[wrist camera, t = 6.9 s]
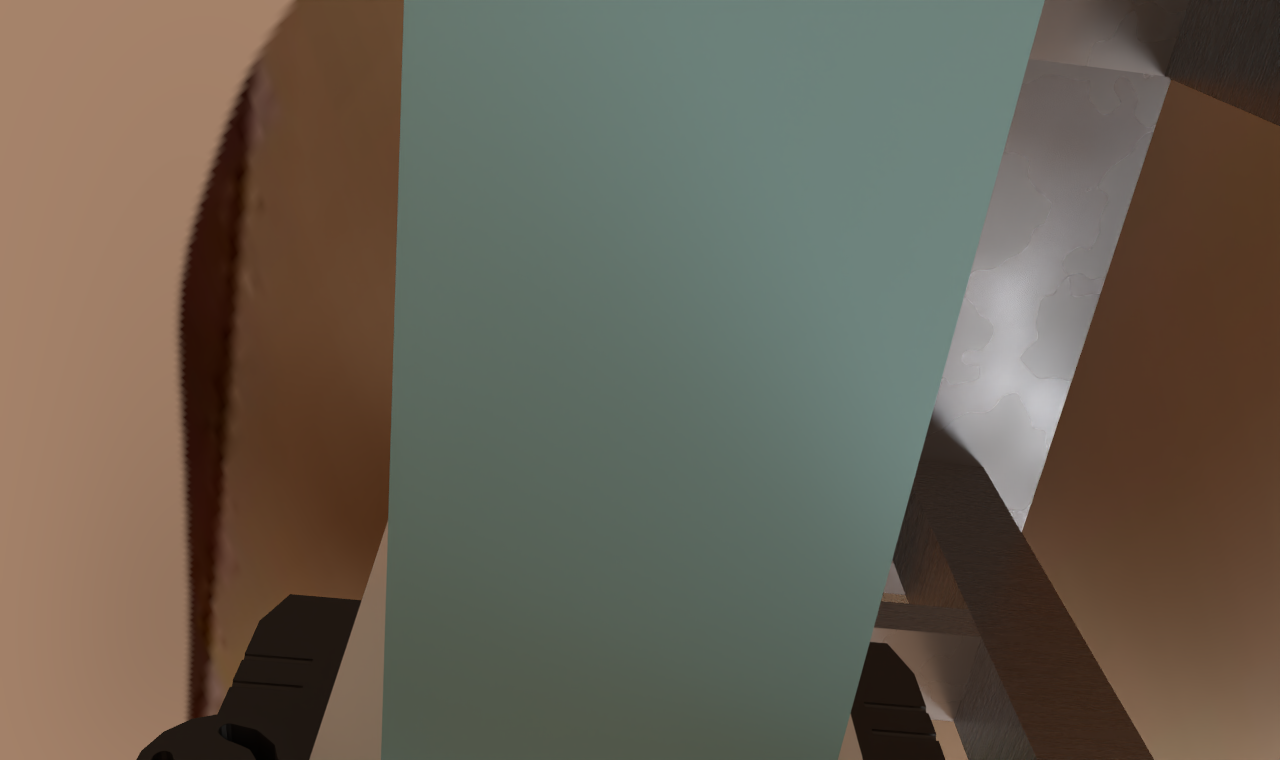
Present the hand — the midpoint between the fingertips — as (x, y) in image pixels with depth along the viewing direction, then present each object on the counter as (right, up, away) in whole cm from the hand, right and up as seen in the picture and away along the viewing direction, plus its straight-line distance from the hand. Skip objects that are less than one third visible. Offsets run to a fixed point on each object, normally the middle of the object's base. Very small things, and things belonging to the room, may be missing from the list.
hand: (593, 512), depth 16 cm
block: (0, -2, -3) cm, 4 cm away
